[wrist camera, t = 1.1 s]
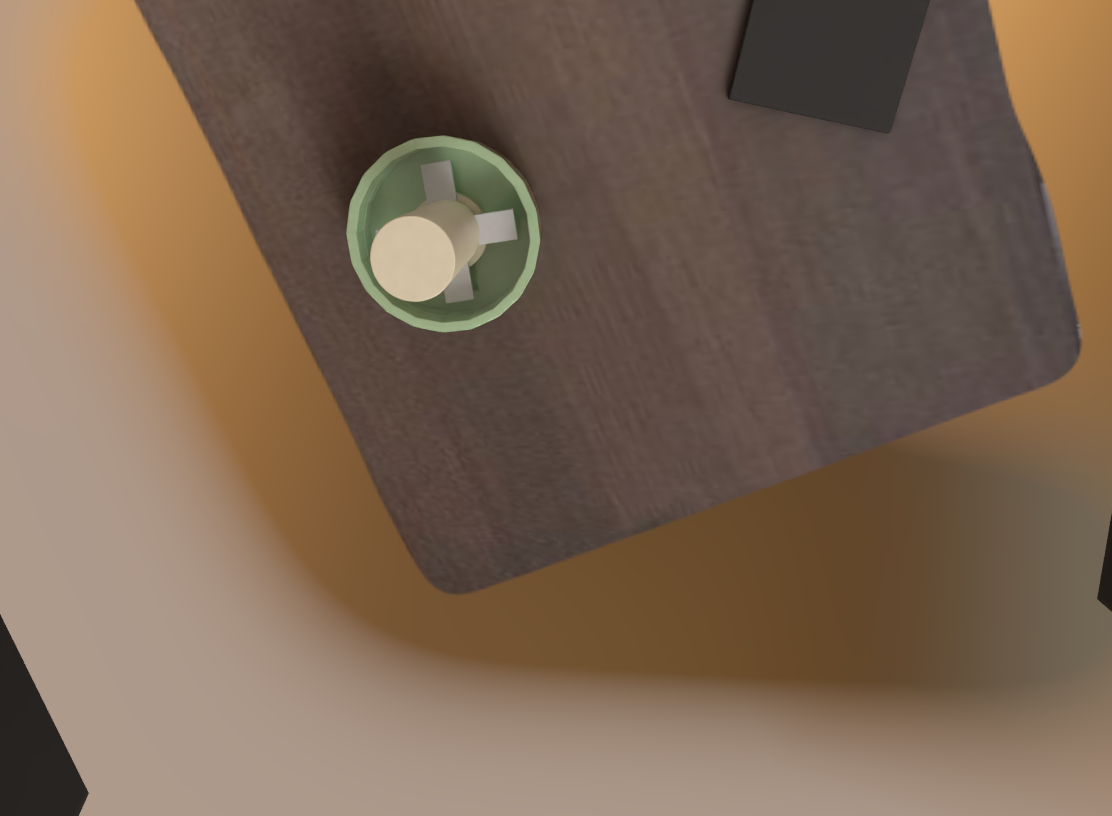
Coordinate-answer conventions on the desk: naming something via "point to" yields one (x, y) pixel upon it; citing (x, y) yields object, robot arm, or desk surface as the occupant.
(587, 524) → the desk surface
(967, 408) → the desk surface
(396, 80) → the desk surface
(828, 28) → the mat
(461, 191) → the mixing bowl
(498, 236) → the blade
